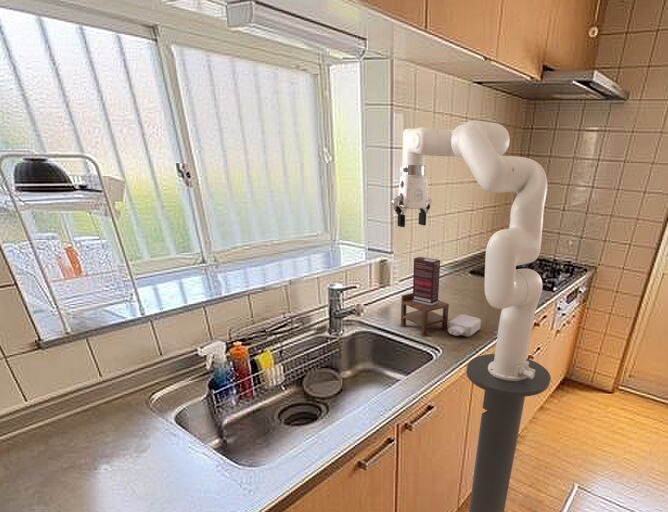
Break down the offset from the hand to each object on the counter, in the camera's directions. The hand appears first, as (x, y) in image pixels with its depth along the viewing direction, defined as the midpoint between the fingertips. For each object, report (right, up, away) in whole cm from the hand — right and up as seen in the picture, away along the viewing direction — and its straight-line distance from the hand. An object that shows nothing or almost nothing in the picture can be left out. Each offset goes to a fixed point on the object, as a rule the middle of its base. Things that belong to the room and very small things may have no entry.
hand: (411, 225), depth 146 cm
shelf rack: (+4, -34, +14) cm, 37 cm away
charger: (+18, -37, +10) cm, 42 cm away
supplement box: (+4, -25, +9) cm, 27 cm away
